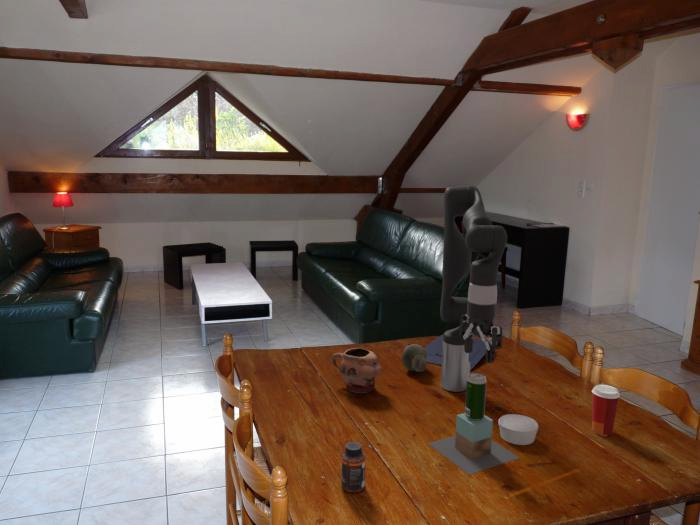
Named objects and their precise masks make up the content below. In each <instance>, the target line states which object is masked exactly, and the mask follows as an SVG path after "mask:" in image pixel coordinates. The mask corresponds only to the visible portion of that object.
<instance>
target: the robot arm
mask: <svg viewBox="0 0 700 525" xmlns="http://www.w3.org/2000/svg"><path fill="white" fill-rule="evenodd" d="M443 216H444V217H443V220H444V221H443V223H444V224H443V226H444V230H443V232H444V234H443V235H444V238H443V248H442V249H443V250H442V251H443V252H442V288H441V289H442V290H441V297H440V306H439V307H440V308H439V310H440V311H439V313H440V314H439V315H440V319H441V321H442V322H443V323H448V324H459V326H457V327H455V328H452V329H448V330H446V331H445V332H443V334H442V335H443V352H442V365H441V375H440V387H441V388H442V389H443V390H445V391H449V392H455V393H457V392H464V391H466V384H467V378H468V375H469V374H471V370H470V362H469V361H468V358H469V353H471V352H472V347H473V339H471V338H474V336H476V337H478V338H479V339H482V341H483V342H484V343H485V345H486V348H487V349H486V354H485V363H487V364H491V363H494V361H495V358H496V350H500V349H502V348H503V327H502V326H500V325H499V326H495V325H494V319H495V318H496V316H497V314H496V313H497V300H498V286H497V285H498V284H497V283H498V271H499V270H498V269H499V267H500V263H501V260H502V259H501V258H502V256H503V254H504V251H505V248H506V246H507V242H508V235H507V233H508V232H507V231H506V228H505V227H504V226H502V225H497V224H496V225H494V224H493V222H492V221H491V219H490V218H489V216H488V215H487V213H486V209H485V205H484V202H483V197H482V194H481V191H480V190H479V188H478V187H476V186H474V185H462V186H449V187H446V188H445V190H444V195H443ZM456 217H463V218H462V223H463V227H464V229H465V232H466V233H465V237H464V235H463V234H462V232H461V231H460V229H459V227H458V225H457V224H456V221H455V220H456ZM472 252H473V253H489V254H488V255H487V257H485V258H482V259H477V260H475V261H472ZM468 274H469V286H468V290H467V291H468V292H467V297H464V296H463V297H461V296H460V297H459V296H452V295H453V293H454V290H455V289H456V288H457V287H458V286H459V284H460V283H461V282H462V281H463V280H465V279H464V278H465V277H467V275H468ZM488 336H489V337H488ZM489 341H490V342H491V343H489Z"/></svg>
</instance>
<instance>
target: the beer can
mask: <svg viewBox="0 0 700 525" xmlns="http://www.w3.org/2000/svg"><path fill="white" fill-rule="evenodd" d="M486 398H487V377H486V375H484V374H481V373H476V372H475V373H470V374H469V375H468V378H467V384H466V390H465V404H464V413H465V416H466V418H467V419H468V420H471V421H481V420H483V418H484V415H485V412H486V411H485V410H486Z"/></svg>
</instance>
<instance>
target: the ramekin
mask: <svg viewBox="0 0 700 525" xmlns="http://www.w3.org/2000/svg"><path fill="white" fill-rule="evenodd" d="M537 422H538V421H536V420H535V419H533V418H532V417H529V416H527V415H522V414H515V413H512V414H504V415H501V417H500V418H499V419H498V422H497V424H498V427H499V434H500V437H501V439H503V440H504V441H505V442H507V443H510V444H512V445H517V446H527V445H531V444H532V443H534V441H535V440H536V436H537V432H538V430H539V423H537Z"/></svg>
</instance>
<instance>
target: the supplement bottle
mask: <svg viewBox="0 0 700 525" xmlns="http://www.w3.org/2000/svg"><path fill="white" fill-rule="evenodd" d="M362 447H363V445H362V444H361V443H359V442H356V441H351V442H348V443H346V444H345V450H344V452H342V455H341V487H342V490H344V491H345V492H348V493H351V494H355V493H359V492H362V491H363V490H364V489H365V487H366V454H365V452H364V451H363V448H362Z"/></svg>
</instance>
